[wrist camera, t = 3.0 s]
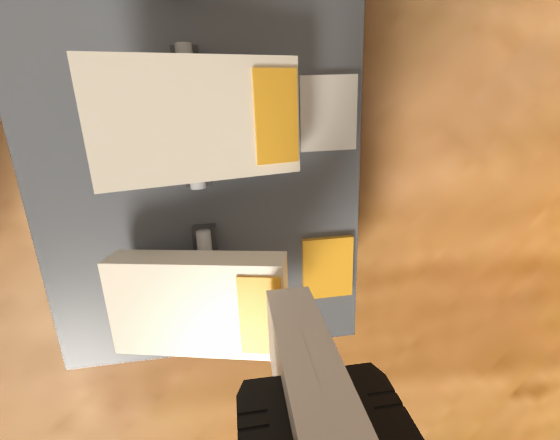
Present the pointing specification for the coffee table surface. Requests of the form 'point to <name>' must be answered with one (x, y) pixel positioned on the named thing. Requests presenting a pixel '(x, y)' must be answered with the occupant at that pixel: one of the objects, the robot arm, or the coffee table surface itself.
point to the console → (187, 197)
